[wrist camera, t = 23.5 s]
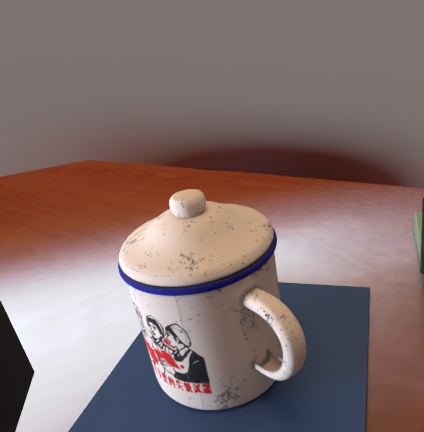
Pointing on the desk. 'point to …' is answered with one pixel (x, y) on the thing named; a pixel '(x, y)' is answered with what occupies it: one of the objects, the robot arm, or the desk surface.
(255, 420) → the mat
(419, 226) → the tray
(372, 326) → the desk surface
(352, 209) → the desk surface
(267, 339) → the teacup with lid
